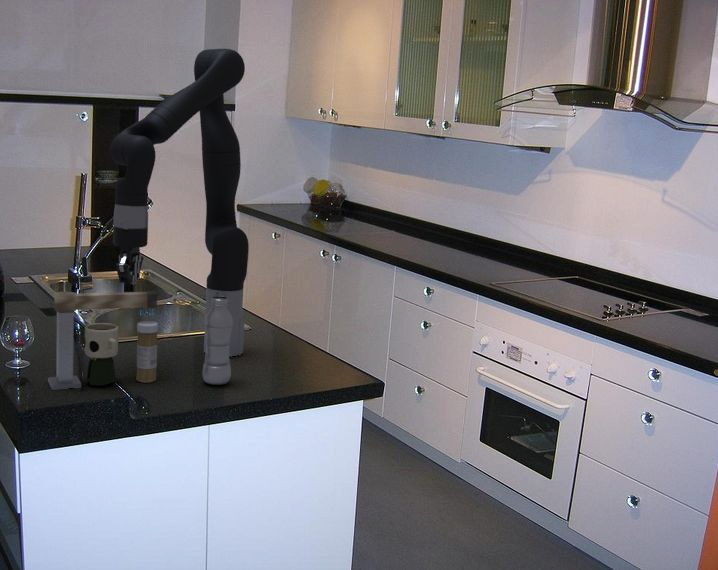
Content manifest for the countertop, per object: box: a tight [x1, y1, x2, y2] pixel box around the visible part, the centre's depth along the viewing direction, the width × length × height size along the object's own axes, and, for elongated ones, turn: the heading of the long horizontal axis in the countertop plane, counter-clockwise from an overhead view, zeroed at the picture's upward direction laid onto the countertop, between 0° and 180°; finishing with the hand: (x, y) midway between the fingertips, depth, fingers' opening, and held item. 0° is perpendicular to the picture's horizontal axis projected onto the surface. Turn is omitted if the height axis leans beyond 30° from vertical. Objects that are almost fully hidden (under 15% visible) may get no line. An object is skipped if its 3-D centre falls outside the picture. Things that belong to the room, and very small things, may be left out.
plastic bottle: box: [202, 296, 233, 386], centre depth 195 cm, size 6×7×20 cm
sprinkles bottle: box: [135, 320, 159, 384], centre depth 195 cm, size 5×5×13 cm
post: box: [47, 311, 82, 391], centre depth 187 cm, size 6×6×16 cm
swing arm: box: [53, 290, 158, 312], centre depth 189 cm, size 22×4×4 cm, turn 117°
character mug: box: [83, 322, 119, 386], centre depth 190 cm, size 11×7×13 cm, turn 48°
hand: (128, 299), depth 198 cm, fingers closed
